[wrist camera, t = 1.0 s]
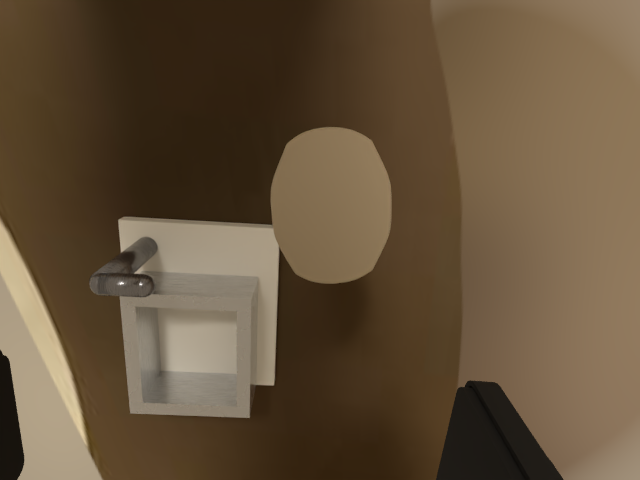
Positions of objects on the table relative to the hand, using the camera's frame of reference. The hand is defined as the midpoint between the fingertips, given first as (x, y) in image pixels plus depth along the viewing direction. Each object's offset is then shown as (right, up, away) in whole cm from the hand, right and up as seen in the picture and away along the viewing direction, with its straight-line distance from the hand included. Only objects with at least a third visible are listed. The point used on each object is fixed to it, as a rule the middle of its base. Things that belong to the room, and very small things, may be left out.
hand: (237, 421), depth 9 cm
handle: (+2, +10, +22) cm, 25 cm away
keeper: (-8, -1, +26) cm, 27 cm away
